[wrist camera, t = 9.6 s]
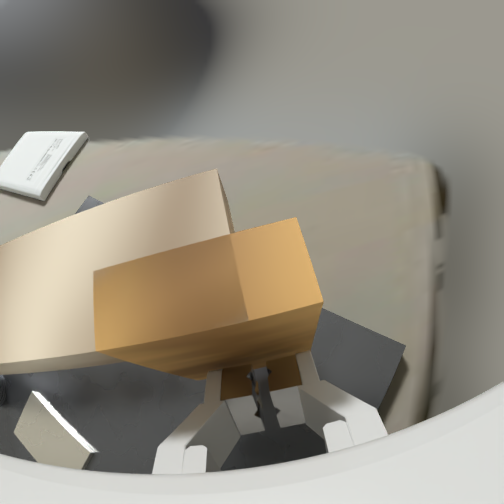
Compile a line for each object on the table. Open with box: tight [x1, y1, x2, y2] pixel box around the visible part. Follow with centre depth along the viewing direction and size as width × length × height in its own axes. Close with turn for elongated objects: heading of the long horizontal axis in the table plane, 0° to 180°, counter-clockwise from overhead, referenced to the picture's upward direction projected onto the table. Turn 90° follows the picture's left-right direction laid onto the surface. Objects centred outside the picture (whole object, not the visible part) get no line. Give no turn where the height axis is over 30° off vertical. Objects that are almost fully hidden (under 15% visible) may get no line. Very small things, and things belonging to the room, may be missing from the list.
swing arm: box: [0, 169, 323, 380], centre depth 11 cm, size 20×4×8 cm, turn 102°
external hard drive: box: [0, 131, 90, 201], centre depth 28 cm, size 2×8×12 cm
